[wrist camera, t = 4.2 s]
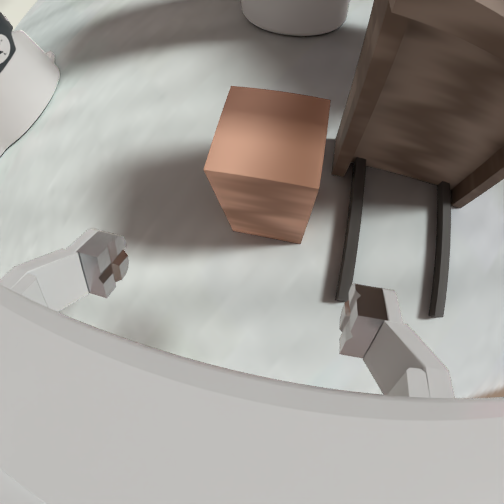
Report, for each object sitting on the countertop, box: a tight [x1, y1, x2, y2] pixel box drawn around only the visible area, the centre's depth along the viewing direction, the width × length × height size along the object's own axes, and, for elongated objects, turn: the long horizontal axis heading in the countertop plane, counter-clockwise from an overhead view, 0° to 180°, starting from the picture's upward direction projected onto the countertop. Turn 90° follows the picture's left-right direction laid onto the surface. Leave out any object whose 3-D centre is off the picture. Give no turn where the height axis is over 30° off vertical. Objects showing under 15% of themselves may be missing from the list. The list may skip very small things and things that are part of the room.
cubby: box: [332, 0, 504, 317], centre depth 13 cm, size 12×13×18 cm
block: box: [204, 86, 330, 244], centre depth 18 cm, size 5×5×10 cm
